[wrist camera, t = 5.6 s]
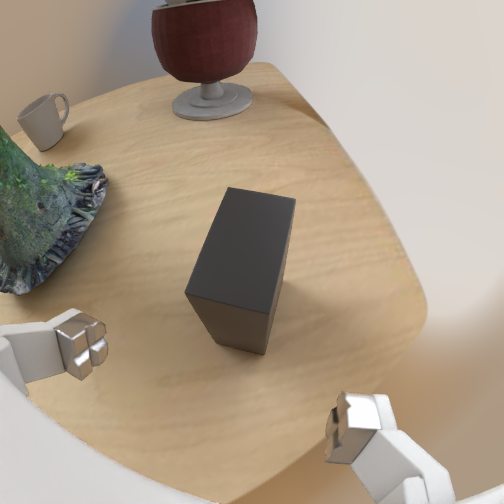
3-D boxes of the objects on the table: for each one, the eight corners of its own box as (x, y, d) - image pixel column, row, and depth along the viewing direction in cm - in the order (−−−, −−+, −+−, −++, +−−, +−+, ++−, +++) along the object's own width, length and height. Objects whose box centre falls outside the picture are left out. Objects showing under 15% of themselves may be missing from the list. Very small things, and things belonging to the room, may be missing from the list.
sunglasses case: (282, 279, 21) (296, 198, 13) (264, 355, 18) (269, 314, 10) (238, 270, 21) (228, 186, 14) (215, 343, 18) (183, 293, 11)
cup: (30, 152, 34) (12, 118, 27) (67, 120, 39) (53, 86, 32) (43, 158, 32) (22, 120, 25) (85, 122, 37) (69, 84, 30)
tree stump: (106, 146, 32) (72, 41, 16) (143, 273, 27) (68, 170, 11) (7, 199, 27) (-54, 126, 10) (20, 329, 22) (-91, 293, 5)
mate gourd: (274, 92, 37) (275, -23, 20) (223, 131, 31) (209, -23, 14) (198, 79, 42) (187, -16, 25) (143, 114, 36) (115, 0, 19)
